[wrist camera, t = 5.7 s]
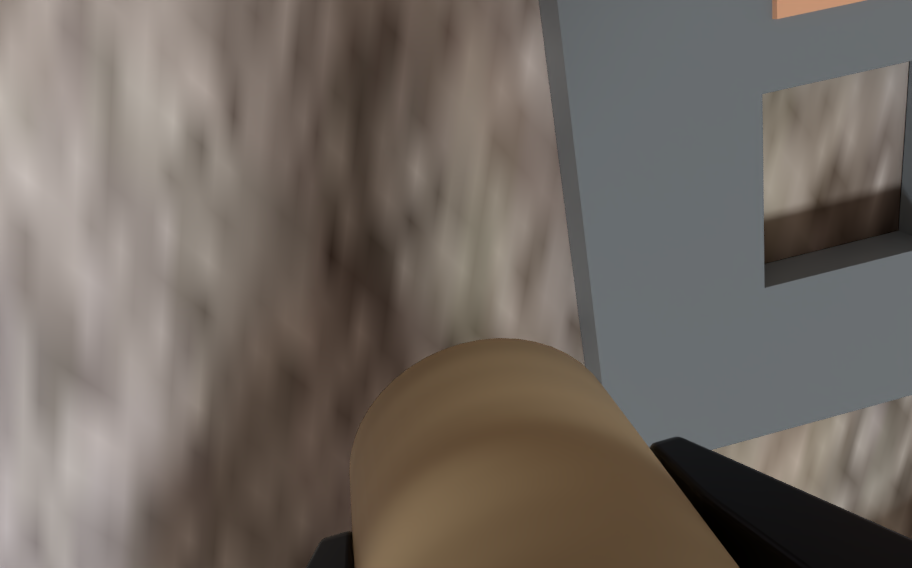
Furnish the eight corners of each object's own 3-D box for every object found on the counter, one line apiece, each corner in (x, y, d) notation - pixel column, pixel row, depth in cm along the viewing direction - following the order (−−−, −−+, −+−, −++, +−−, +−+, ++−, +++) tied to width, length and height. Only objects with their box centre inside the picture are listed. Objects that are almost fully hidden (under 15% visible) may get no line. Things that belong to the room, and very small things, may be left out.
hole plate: (595, 449, 23) (615, 480, 21) (527, -83, 17) (548, -94, 15) (1021, 334, 24) (1069, 355, 23) (1099, -191, 18) (1171, -211, 17)
